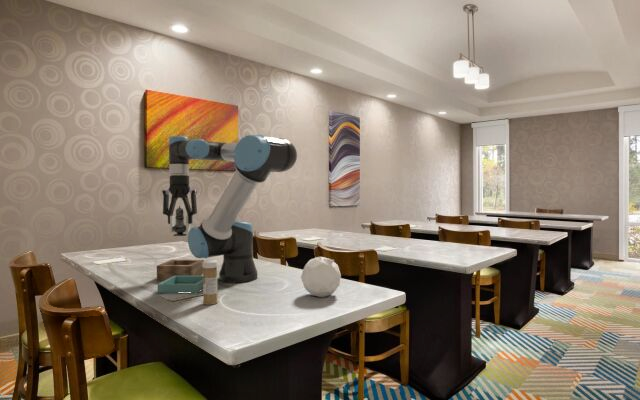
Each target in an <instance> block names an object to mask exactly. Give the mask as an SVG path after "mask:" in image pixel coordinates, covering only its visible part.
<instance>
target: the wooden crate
mask: <svg viewBox="0 0 640 400" xmlns="http://www.w3.org/2000/svg"><path fill="white" fill-rule="evenodd" d="M203 261H205V259H170V260H167V261H165V262H162V263H160V264H158V265H156V281H157V282H163V281H165V280H167V279H169V278H171V277H173V276H203V267H202V263H203Z"/></svg>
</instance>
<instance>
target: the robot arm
mask: <svg viewBox="0 0 640 400" xmlns="http://www.w3.org/2000/svg"><path fill="white" fill-rule="evenodd" d="M297 159H298V153H297V149H296V146H295V145H294V143H292V142H291V141H290V140H288V139H286V138H282V137H275V136H274V137H271V136H264V135H262V134H261V135H260V134H248V135H245V136H243V137H241V138H240V139H239V140H238V142H219V141H209V140H204V139H202V138H193V139H189V137H187V136H185V135H184V136H183V135H175V136H174V135H173V136H170V137H169V139H168V161H169V164H168V165H169V170H168V172H169V174H170V176H169V188H168V189H165V190H164V189H163V190H162V191H161V192H162V195H163V199H162V201H163V202H162V203H163V204H162V214H163V215H166V216H167V223H168V225H170V226H169V228H170V229H169V230H170V231H169V232H170V233H175V232H174V230H173V226H175V224H176V218H175V217H176V215H174V211H175V207H176V205H177V201H178V199H179V198H180V199H181V200H182V201H183V205H184V208H185V211H186V214H187V215H185V225H186V231H185V233H187V244H188V248H189V250H190V252H191V254H192V255H193V257H195V258H196V259H208V258H213V257H218V256H223V261H222V264H221V267H220V270H219V275H218V276H219V277H218V280H219V281H221V282H225V283H244V282H251V281H255V280H257V279H258V269H257V267H256V264H255V261H254V254H253V253H254V246H253V245H254V243H253V242H254V232H253V224H252V223H250V222H245V221H237V220H238V217H239V216H240V213H241V212H242V211H243V209H244V207H245V206H246V204H247V203H248V201H249V199H251V198H250V197H251V196H252V195H253V193H254V192H255V189H256V188H257V186H258V184H261V183H264V182H265V181H266V180H267V178H268V177H269V175H270V174H271V173H282V172H287V171H289V170H290V169H292V168H293V166H295V164H296V161H297ZM190 160H202V161H203V160H204V161H205V160H206V161H216V162H217V161H219V162H220V161H221V162H231V163H232V162H233V163H234V168H235V171H234V173H233V175H232V177H231V178H230V180H229V182H228V183H227V186H226V188H225V189H224V190H223V193H222V195H221V196H220V198H219V200H218V202H217V203H216V204H215V207H214V208H213V211H212V212H211V214H210V215H209V216H206V217H204V219H203V220H202V221H201V222H200V225H199V226H194V227H192V228H191V224H193V216H194V215H197V214H198V208H197V194H198V191H197V189H192V188H191V187H190V176H189V174H190V165H189V164H190V163H189V161H190ZM170 194H171V198H170ZM188 194H189V195H190V201H189V196H188ZM170 199H171V200H170ZM169 201H170V204H169Z"/></svg>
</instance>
